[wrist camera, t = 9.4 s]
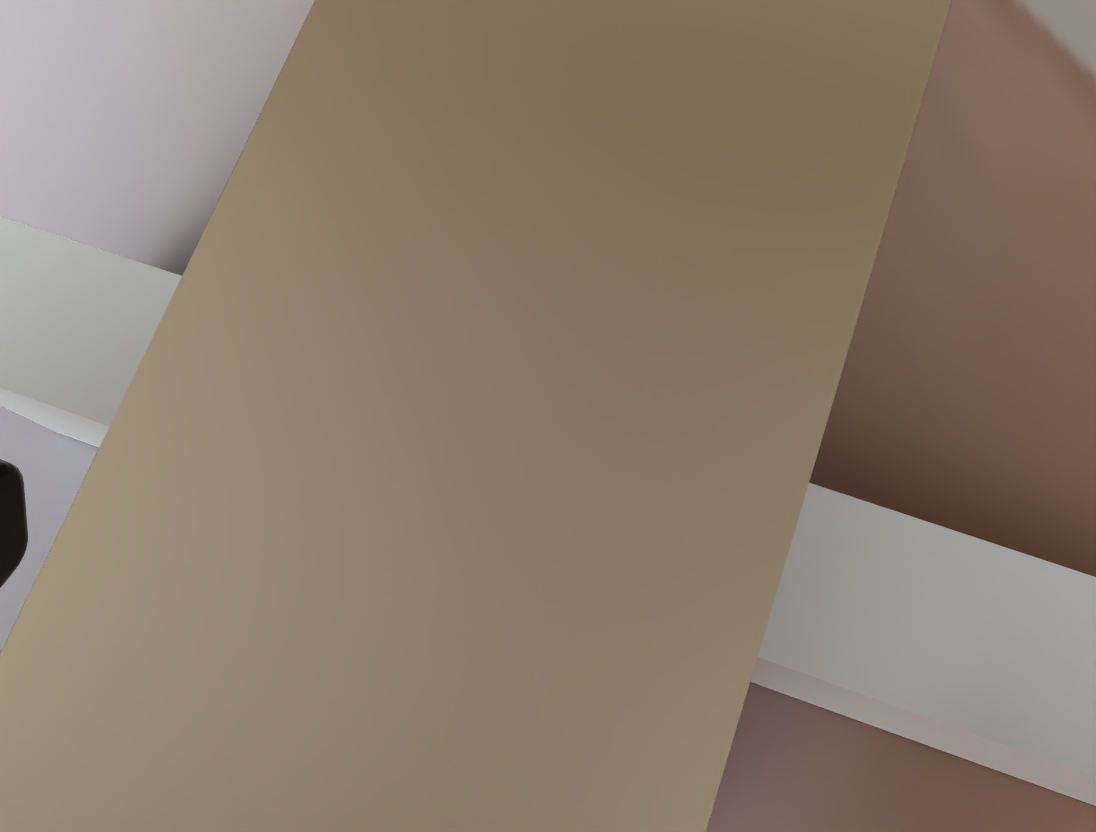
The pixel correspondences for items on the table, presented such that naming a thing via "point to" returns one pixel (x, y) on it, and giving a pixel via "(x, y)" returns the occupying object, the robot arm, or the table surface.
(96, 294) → the light grey slotted rail
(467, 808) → the birch slotted plate
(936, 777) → the table surface
